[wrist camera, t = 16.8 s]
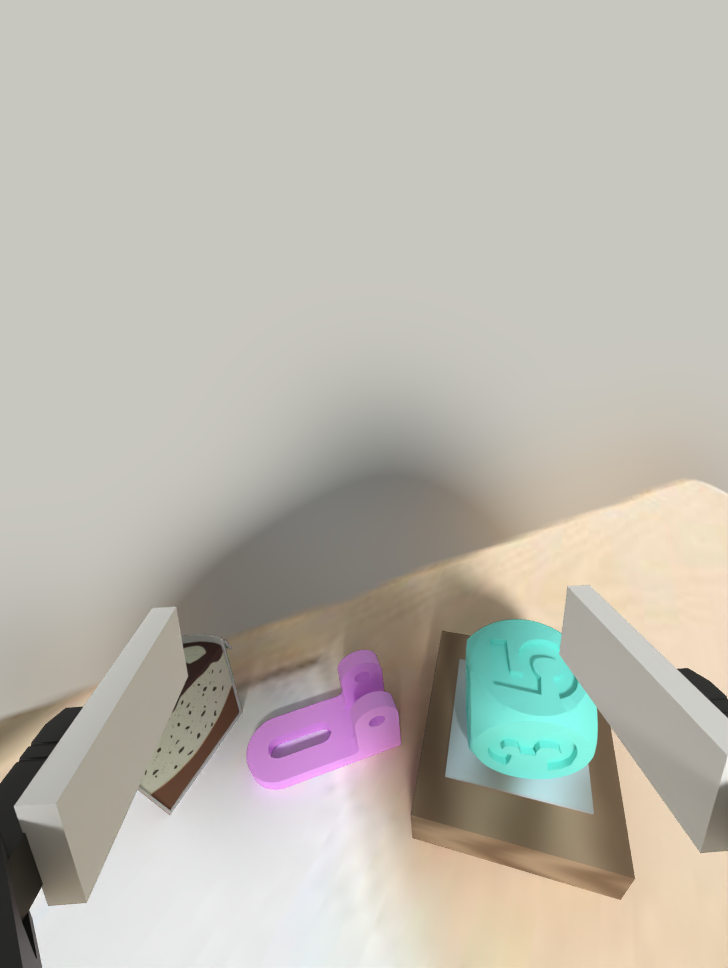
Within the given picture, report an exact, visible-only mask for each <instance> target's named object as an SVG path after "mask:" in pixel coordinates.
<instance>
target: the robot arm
mask: <svg viewBox="0 0 728 968" xmlns="http://www.w3.org/2000/svg"><path fill="white" fill-rule="evenodd" d="M559 655H560V656H561V658H562V659H563V660H564V662H565V663H566V665H567V666H568V667H569V669H570V670H571V672H572V673H573V674H574V676H575V677H576V679H577V680H578V681H579V683H580V684H581V686H582V687H583V688H584V690H585V691H586V693H587V694H588V696H589V697H590V698H591V700H592V701H593V703H594V704H595V705H596V707H597V708H598V710H599V711H600V712H601V714H602V715H603V717H604V718H605V719H606V721H607V722H608V724H609V725H610V726H611V728H612V729H613V731H614V732H615V733H616V735H617V736H618V738H619V739H620V740H621V742H622V743H623V745H624V746H625V748H626V749H627V750H628V752H629V753H630V755H631V756H632V757H633V759H634V760H635V762H636V763H637V764H638V766H639V767H640V769H641V770H642V771H643V773H644V774H645V776H646V777H647V778H648V780H649V781H650V783H651V784H652V785H653V787H654V788H655V790H656V791H657V792H658V794H659V795H660V797H661V798H662V799H663V801H664V802H665V804H666V805H667V807H668V808H669V809H670V811H671V812H672V814H673V815H674V816H675V818H676V819H677V821H678V822H679V823H680V825H681V826H682V828H683V829H684V830H685V832H686V833H687V835H688V836H689V837H690V839H691V840H692V842H693V843H694V844H695V846H696V847H697V849H698V850H699V851H700V853H706V852H718V851H728V699H727V696H726V695H725V694H723V693H722V692H721V691H720V690H719V689H718V688H717V687H716V686H715V685H714V684H712V683H711V682H710V681H709V680H707V679H705V678H704V677H702V676H700V675H699V674H697V673H695V672H694V671H692V670H690V669H688V668H683V669H676V668H675V667H674V666H673V665H672V664H671V663H670V662H669V661H668V660H667V659H666V658H665V657H664V656H663V655H662V654H661V653H660V652H658V651H657V650H656V649H655V648H654V647H653V646H652V645H651V644H650V643H649V642H648V641H647V640H646V639H645V638H644V637H643V636H642V635H641V634H640V633H639V632H638V631H637V630H636V629H635V628H634V627H632V626H631V625H630V624H629V623H628V622H627V621H626V620H625V619H624V618H623V617H622V616H621V615H620V614H619V613H618V612H617V611H616V610H615V609H614V608H613V607H612V606H611V605H610V604H609V603H608V602H606V601H605V600H604V599H603V598H602V597H601V596H600V595H599V594H598V593H597V592H596V591H595V590H594V589H593V588H592V587H591V586H590V585H582V586H567V595H566V603H565V611H564V619H563V627H562V635H561V643H560V651H559ZM187 678H188V673H187V667H186V661H185V655H184V650H183V644H182V638H181V632H180V626H179V620H178V615H177V609H176V607H163V608H152V609H151V611H150V612H149V613H148V615H147V616H146V618H145V619H144V621H143V622H142V624H141V625H140V626H139V628H138V629H137V631H136V632H135V634H134V635H133V636H132V638H131V639H130V641H129V642H128V644H127V645H126V647H125V648H124V649H123V651H122V652H121V654H120V655H119V657H118V658H117V659H116V661H115V662H114V664H113V665H112V666H111V668H110V670H109V671H108V672H107V674H106V675H105V677H104V678H103V679H102V681H101V682H100V684H99V685H98V687H97V688H96V689H95V691H94V692H93V694H92V695H91V697H90V698H89V699H88V701H87V702H86V704H85V705H84V707H72V708H65V709H64V710H63V711H61V712H60V713H59V714H58V715H56V716H55V717H54V718H53V719H52V720H50V721H49V722H48V723H47V724H45V726H44V727H43V728H42V730H41V731H40V732H39V734H38V735H37V736H36V737H35V739H34V740H33V741H32V743H31V746H29V747H28V748H27V749H26V751H25V752H24V753H23V754H22V756H21V757H20V760H19V762H16V764H15V765H14V766H13V768H12V769H11V770H10V771H9V773H8V774H7V775H6V777H5V778H4V779H3V781H2V782H1V783H0V968H42V964H41V960H40V955H39V950H38V945H37V940H36V935H35V930H34V925H33V920H32V917H31V914H30V911H29V909H30V907H31V905H32V904H33V902H34V900H35V898H36V896H37V894H38V892H39V891H40V889H41V887H42V889H43V892H44V895H45V898H46V901H47V904H48V906H52V905H65V904H77V903H87V901H88V898H89V896H90V894H91V892H92V890H93V887H94V885H95V883H96V881H97V878H98V876H99V874H100V872H101V869H102V867H103V865H104V863H105V861H106V858H107V856H108V854H109V852H110V849H111V847H112V845H113V843H114V840H115V838H116V836H117V834H118V832H119V829H120V827H121V825H122V823H123V820H124V818H125V816H126V814H127V811H128V809H129V807H130V805H131V803H132V800H133V798H134V796H135V794H136V791H137V789H138V787H139V785H140V782H141V780H142V778H143V776H144V774H145V771H146V769H147V767H148V765H149V762H150V760H151V758H152V756H153V753H154V751H155V749H156V747H157V745H158V742H159V740H160V738H161V736H162V733H163V731H164V729H165V727H166V724H167V722H168V720H169V718H170V715H171V713H172V711H173V709H174V707H175V704H176V702H177V700H178V698H179V695H180V693H181V691H182V689H183V686H184V684H185V682H186V680H187Z"/></svg>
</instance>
